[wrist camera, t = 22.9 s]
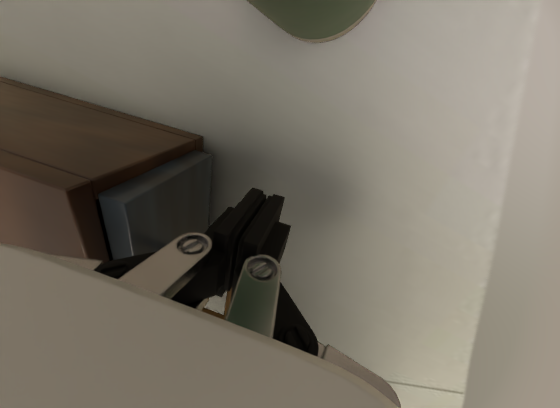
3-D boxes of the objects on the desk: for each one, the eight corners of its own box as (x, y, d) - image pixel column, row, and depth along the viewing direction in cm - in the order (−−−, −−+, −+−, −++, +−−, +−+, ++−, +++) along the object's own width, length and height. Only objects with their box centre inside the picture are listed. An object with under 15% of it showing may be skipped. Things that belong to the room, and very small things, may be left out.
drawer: (290, 178, 13) (251, 247, 8) (254, 316, 20) (220, 404, 15) (14, 94, 15) (-169, 101, 10) (68, 244, 22) (-23, 298, 17)
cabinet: (203, 136, 14) (65, 189, 7) (197, 288, 22) (126, 387, 15) (0, 76, 16) (-271, 72, 9) (59, 236, 24) (-63, 302, 17)
